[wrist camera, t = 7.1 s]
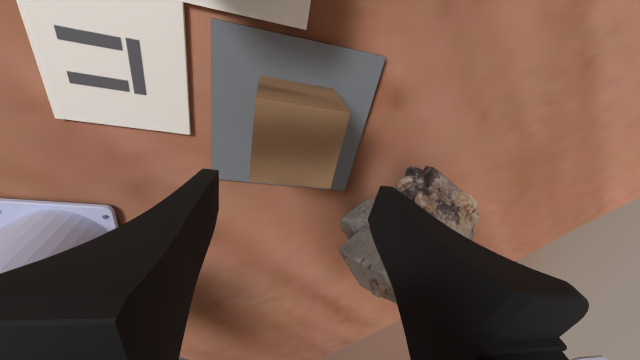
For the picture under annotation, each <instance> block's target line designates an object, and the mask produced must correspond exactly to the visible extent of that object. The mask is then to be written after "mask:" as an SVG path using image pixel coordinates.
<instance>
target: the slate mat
mask: <svg viewBox="0 0 640 360" xmlns="http://www.w3.org/2000/svg"><path fill="white" fill-rule="evenodd" d="M385 58H386V57H385V56H381V55H376V54H372V53H367V52H363V51H358V50H354V49H349V48H345V47H340V46H336V45H331V44H327V43H322V42H317V41H313V40H308V39H304V38H299V37H295V36H290V35H286V34H281V33H277V32H272V31H268V30H263V29H258V28H254V27H249V26H245V25H240V24H236V23H231V22H227V21H222V20H218V19H213V18H211V81H212V170H219V179H220V180H231V181H242V182H249V173H250V160H251V147H252V133H253V120H254V107H255V96H256V92H257V87H258V83H259V78H260V76H266V77H271V78H277V79H282V80H288V81H294V82H299V83H305V84H310V85H316V86H321V87H327V88H332V89H334V90H335V91H336V93H337V94H338V96H339V97H340V98H341V100H342V101H343V103H344V104H345V105H346V107H347V108H348V110H349V111H350V113H351V114H350V117H349V121H348V125H347V128H346V132H345V136H344V139H343V143H342V147H341V151H340V154H339V158H338V162H337V165H336V169H335V173H334V176H333V180H332V184H331V187H330V189H331V190H342V191H345V188H346V185H347V182H348V178H349V175H350V172H351V169H352V165H353V162H354V159H355V156H356V152H357V149H358V146H359V143H360V139H361V136H362V133H363V130H364V126H365V123H366V120H367V117H368V113H369V110H370V107H371V104H372V100H373V97H374V94H375V91H376V87H377V84H378V81H379V78H380V75H381V71H382V68H383V65H384V62H385ZM254 183H260V182H254ZM265 184H271V183H265ZM276 185H282V184H276ZM287 186H293V185H287ZM298 187H304V186H298ZM309 188H315V187H309ZM320 189H326V188H320Z"/></svg>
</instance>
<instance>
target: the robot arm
mask: <svg viewBox="0 0 640 360" xmlns="http://www.w3.org/2000/svg"><path fill="white" fill-rule="evenodd" d="M218 210H219V170H211V169H202V170H200V171H199V172H198V173H197V174H196V175H194V176H193V177H192V178H191V179H190V180H188V181H187V182H186V183H185V184H184V185H182V186H181V187H180V188H179V189H177V190H176V191H175V192H173V193H172V194H171V195H170V196H168V197H167V198H165V199H164V200H163V201H161V202H160V203H158V204H157V205H155V206H154V207H153V208H151V209H149V210H148V211H146V212H145V213H143V214H141V215H139V216H138V217H136V218H134V219H132V220H131V221H129V222H127V223H125V224H123V225H121V226H118V222H117V219H116V215H115V211H114V209H113V208H112V207H111V206H109V205H99V204H83V203H67V202H51V201H36V200H20V199H4V198H0V360H178V359H179V355H180V350H181V345H182V341H183V336H184V332H185V327H186V323H187V318H188V314H189V310H190V305H191V301H192V297H193V293H194V289H195V285H196V282H197V278H198V275H199V273H200V270H201V267H202V264H203V261H204V258H205V255H206V253H207V250H208V247H209V244H210V241H211V238H212V235H213V232H214V229H215V224H216V220H217V215H218ZM106 215H108V216H109V217H108V216H106ZM368 223H369V227H370V231H371V235H372V238H373V241H374V243H375V246H376V248H377V251H378V253H379V256H380V258H381V260H382V263H383V265H384V268H385V270H386V273H387V275H388V277H389V280H390V283H391V285H392V288H393V291H394V295H395V298H396V302H397V305H398V308H399V312H400V316H401V320H402V324H403V327H404V331H405V336H406V340H407V345H408V349H409V354H410V358H411V360H569V359H568V358H567V357H566V356H565V354H564V353H563V352H562V351H565V350H566V349H567V347H566V345H565V344H564V342H563V341H562V340H561V339H560V338H559V337H560V336H561V335H562V334H564V333H565V332H566V331H567V330H568V329H570V328H571V327H572V326H574V324H576V323H577V322H578V321H580V320H581V319H582V318H583V317H584V315H585V314H586V313H587V311H588V308H589V303H588V300H587V299H586V298H585V297H584V296H583V295H582V294H580V293H579V292H578V291H577V290H576V289H575V288H574V287H573V286H571V285H570V284H569V283H567V282H566V281H563V280H561V279H558V278H555V277H552V276H550V275H547V274H544V273H541V272H539V271H536V270H533V269H531V268H528V267H526V266H524V265H521V264H519V263H517V262H514V261H512V260H510V259H507V258H505V257H503V256H501V255H499V254H497V253H495V252H493V251H491V250H489V249H487V248H485V247H483V246H481V245H479V244H477V243H475V242H473V241H472V240H470V239H468V238H466V237H465V236H463V235H461V234H460V233H458V232H456V231H455V230H453V229H451V228H450V227H448V226H447V225H445V224H444V223H442V222H441V221H440V220H438V219H437V218H435V217H434V216H432V215H431V214H430V213H428V212H427V211H425V210H424V209H423V208H421V207H420V206H419V205H417V204H416V203H415V202H413V201H412V200H411V199H409V198H408V197H407V196H405V195H404V194H403V193H401V192H400V191H398V190H397V189H395V188H393V187H388V186H380V188H379V191H378V194H377V196H376V199H375V201H374V204H373V206H372V209H371V212H370V214H369V217H368ZM572 360H607V359H606V358H605V357H604V356H589V357H579V358H575V359H572Z"/></svg>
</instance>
